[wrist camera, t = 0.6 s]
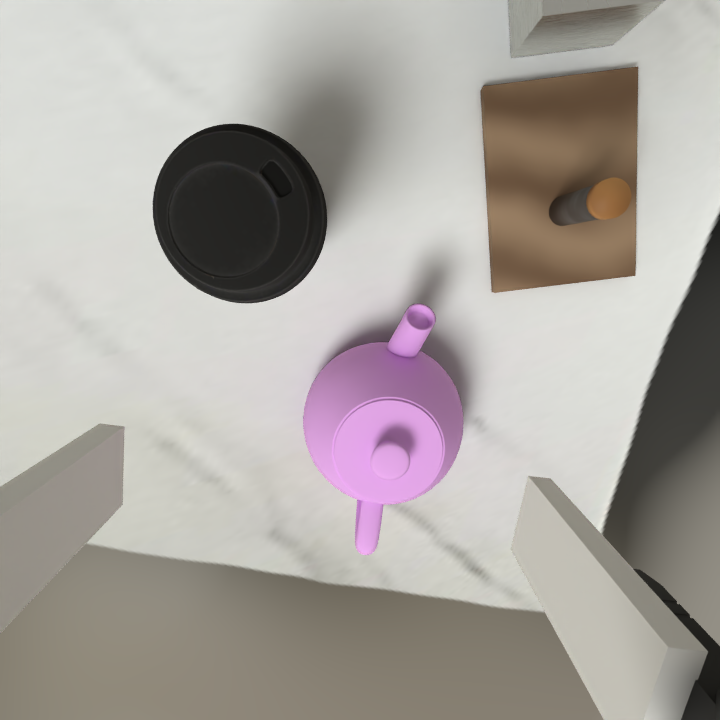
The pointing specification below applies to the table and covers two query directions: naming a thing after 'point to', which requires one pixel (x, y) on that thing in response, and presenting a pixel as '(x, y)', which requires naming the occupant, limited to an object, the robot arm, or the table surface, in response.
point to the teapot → (384, 422)
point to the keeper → (561, 178)
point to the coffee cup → (239, 213)
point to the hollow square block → (572, 23)
